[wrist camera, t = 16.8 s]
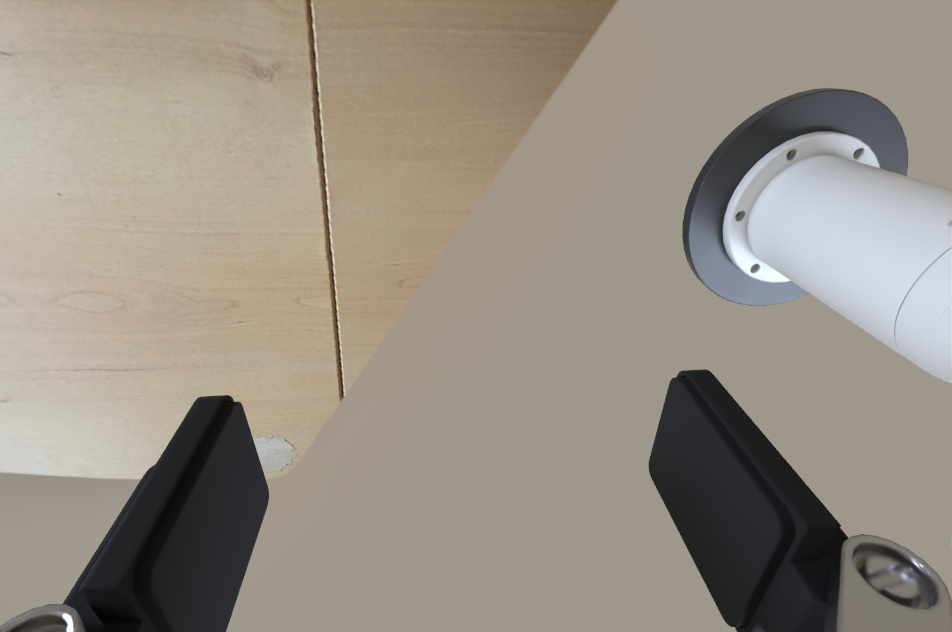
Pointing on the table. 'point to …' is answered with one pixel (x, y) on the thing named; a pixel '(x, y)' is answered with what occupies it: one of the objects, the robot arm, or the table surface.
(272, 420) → the table surface
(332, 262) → the table surface
